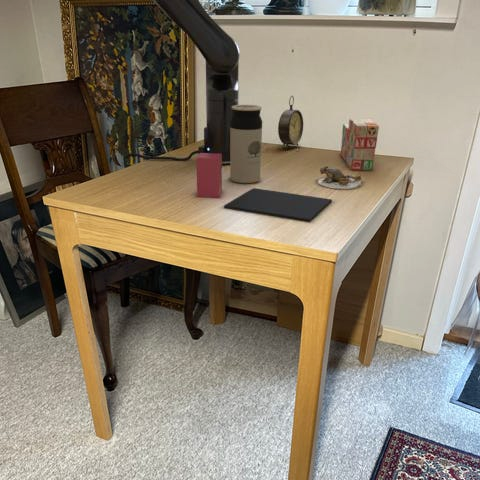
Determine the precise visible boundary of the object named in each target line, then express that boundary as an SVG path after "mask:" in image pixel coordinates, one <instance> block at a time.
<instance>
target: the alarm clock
mask: <svg viewBox="0 0 480 480" xmlns="http://www.w3.org/2000/svg"><path fill="white" fill-rule="evenodd" d="M291 98H292V104H291ZM294 103H295V98H294V95H290V97H289V100H288V105H289V109H285V110H284V111H283V112H282V113H281V115H280V117H279V120H278V124H277V132H278V133H277V134H278V139H279V141H280V142H281V143H282V144H283V145H282V147H284V146H285V148H284V150H285V151H287V150H288V147H289V146H299V143H300V141H301V139H302V136H303V134H304V133H303V131H304V117H303V114H302V112H301V111H300V110H299V109H293V107H294Z"/></svg>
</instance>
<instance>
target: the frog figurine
mask: <svg viewBox="0 0 480 480" xmlns="http://www.w3.org/2000/svg"><path fill="white" fill-rule="evenodd" d="M319 173H320V175H324V174H325V176H326V177H325V178H324V177H322V178H319V179H317V183H318V185H320V186H322V187H327V188H330V189H335V190H353V189H358V188H360V187H361V185H362V183H363V178H362V175H360V174H358V175H355V176H354V175H351V174H344V173H343V172H342V170H341V169H339V168H334V167H333V168H332V167H329V166H328V165H326V166H324V167H321V168H320V169H319Z"/></svg>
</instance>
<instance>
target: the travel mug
mask: <svg viewBox="0 0 480 480" xmlns="http://www.w3.org/2000/svg"><path fill="white" fill-rule="evenodd" d="M232 109H233V116H232V119H231V123H230V164H229V179H230V180H231V181H232V182H234V183H236V184H237V183H238V184H253V183H257V182H259V181H260V180H261V170H262V169H261V168H262V167H261V166H262V143H263V142H262V140H263V119H262V116H261V110H262V109H263V108H262V106H260V105H257V104H238V105H234V106H232Z"/></svg>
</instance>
